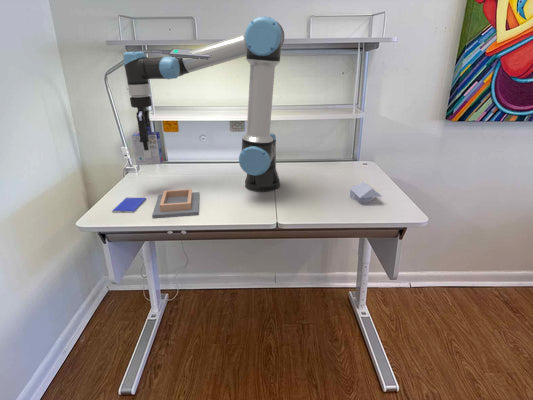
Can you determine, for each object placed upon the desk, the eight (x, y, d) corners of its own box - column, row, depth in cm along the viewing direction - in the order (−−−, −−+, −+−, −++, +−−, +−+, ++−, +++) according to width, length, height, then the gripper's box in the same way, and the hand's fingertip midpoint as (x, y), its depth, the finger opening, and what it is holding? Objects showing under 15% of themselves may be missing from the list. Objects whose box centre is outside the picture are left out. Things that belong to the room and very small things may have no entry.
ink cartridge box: (164, 160, 149) (159, 125, 143) (161, 164, 144) (156, 128, 138) (139, 161, 149) (133, 126, 143) (136, 165, 144) (129, 129, 138)
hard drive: (125, 197, 144) (111, 210, 133) (145, 197, 144) (133, 210, 132) (126, 201, 145) (112, 214, 133) (146, 201, 144) (134, 214, 133)
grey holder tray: (199, 194, 148) (198, 186, 147) (198, 214, 130) (197, 205, 129) (159, 197, 146) (158, 188, 145) (152, 218, 128) (151, 208, 127)
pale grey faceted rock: (381, 204, 137) (367, 192, 149) (383, 187, 135) (369, 176, 147) (358, 206, 136) (346, 193, 148) (360, 189, 134) (347, 178, 145)
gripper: (134, 93, 144) (143, 150, 153) (124, 99, 127) (135, 162, 136) (153, 92, 145) (161, 149, 154) (146, 98, 128) (155, 161, 137)
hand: (149, 155), depth 145 cm, fingers closed on ink cartridge box, 6 cm apart
